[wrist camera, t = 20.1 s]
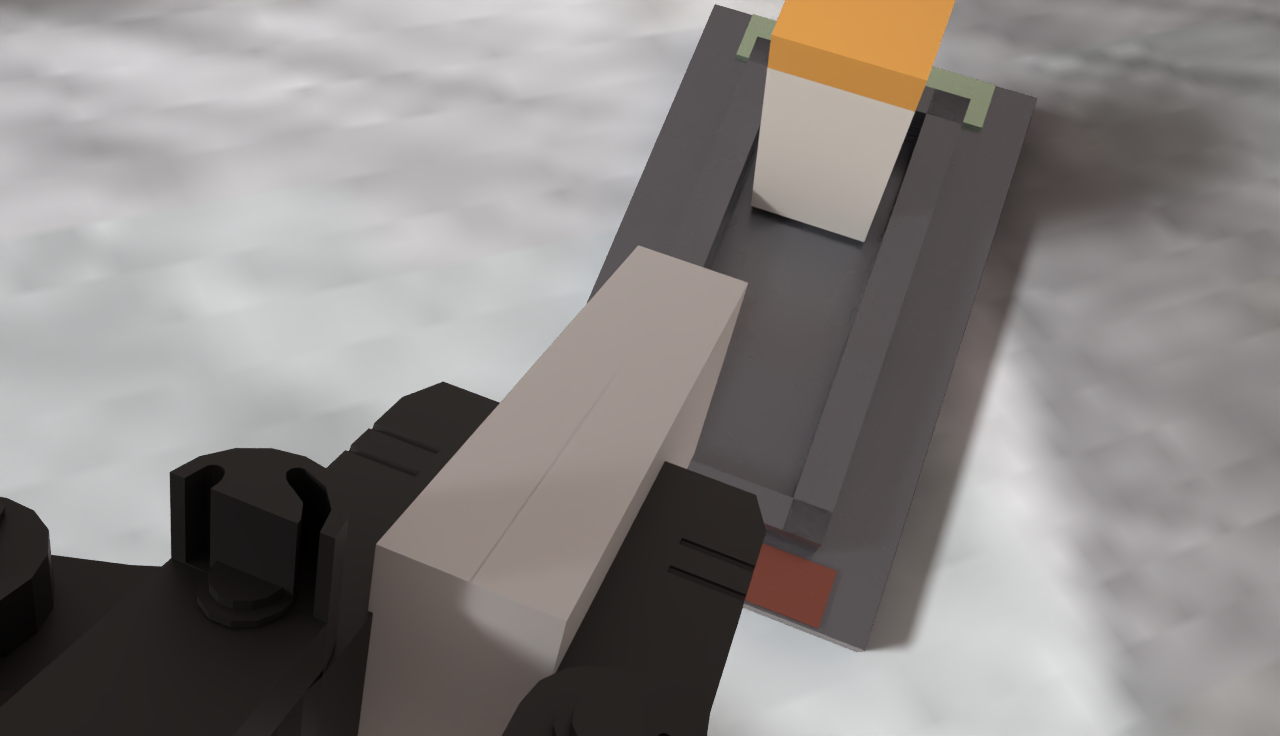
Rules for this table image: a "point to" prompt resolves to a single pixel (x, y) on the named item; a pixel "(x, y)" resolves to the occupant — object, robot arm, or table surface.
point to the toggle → (841, 105)
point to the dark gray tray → (826, 317)
